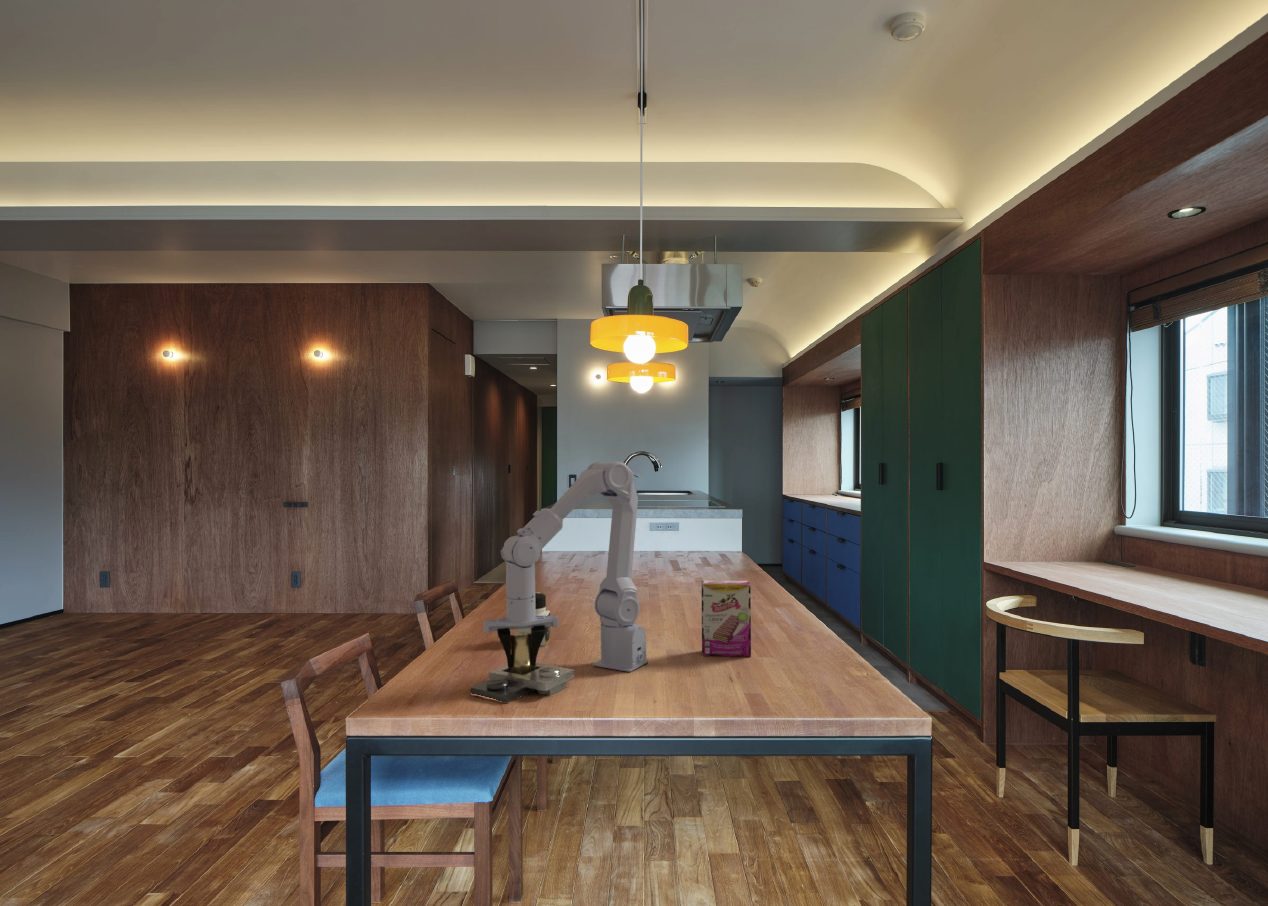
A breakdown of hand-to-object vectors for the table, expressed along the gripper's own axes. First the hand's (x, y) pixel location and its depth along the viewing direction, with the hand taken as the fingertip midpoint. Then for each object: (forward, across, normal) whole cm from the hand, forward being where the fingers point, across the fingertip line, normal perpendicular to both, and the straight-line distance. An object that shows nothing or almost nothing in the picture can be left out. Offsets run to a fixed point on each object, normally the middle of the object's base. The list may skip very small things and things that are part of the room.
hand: (521, 665), depth 127 cm
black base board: (+4, +2, +2) cm, 4 cm away
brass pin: (+3, 0, 0) cm, 3 cm away
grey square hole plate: (+4, -2, +2) cm, 4 cm away
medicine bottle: (+4, -6, -31) cm, 32 cm away
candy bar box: (+4, -47, -7) cm, 47 cm away
